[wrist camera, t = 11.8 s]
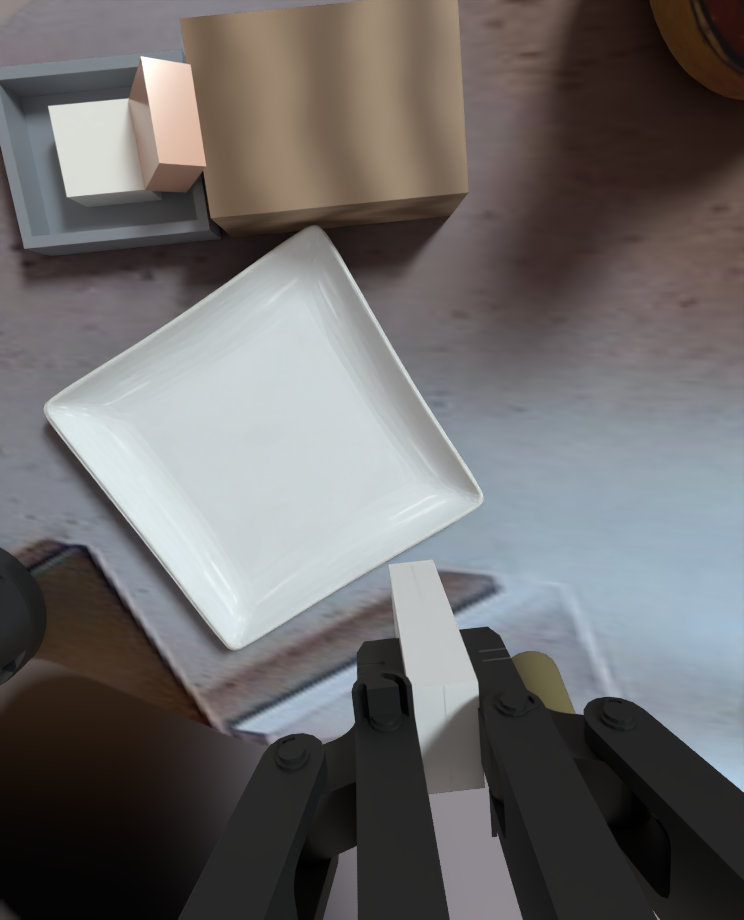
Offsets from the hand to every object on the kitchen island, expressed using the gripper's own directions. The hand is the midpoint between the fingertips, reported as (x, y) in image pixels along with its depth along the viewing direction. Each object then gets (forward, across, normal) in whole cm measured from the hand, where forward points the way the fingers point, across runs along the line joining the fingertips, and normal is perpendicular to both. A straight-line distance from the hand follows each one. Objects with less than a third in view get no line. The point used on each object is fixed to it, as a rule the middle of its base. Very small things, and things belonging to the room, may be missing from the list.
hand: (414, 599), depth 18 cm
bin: (+30, +18, -24) cm, 43 cm away
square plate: (+31, +9, 0) cm, 32 cm away
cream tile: (+27, +18, -24) cm, 40 cm away
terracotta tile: (+25, +11, -24) cm, 37 cm away
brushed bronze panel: (+30, +1, -24) cm, 39 cm away
